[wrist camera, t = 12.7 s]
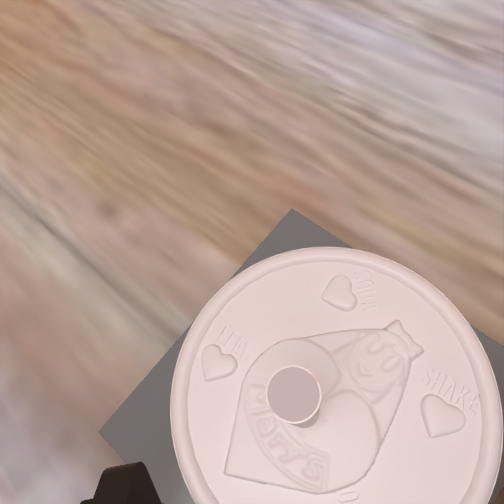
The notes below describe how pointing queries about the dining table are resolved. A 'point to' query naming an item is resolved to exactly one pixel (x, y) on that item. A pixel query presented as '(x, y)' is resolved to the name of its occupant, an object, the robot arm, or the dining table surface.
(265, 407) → the smoothie
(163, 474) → the coaster
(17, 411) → the dining table surface
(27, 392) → the dining table surface
